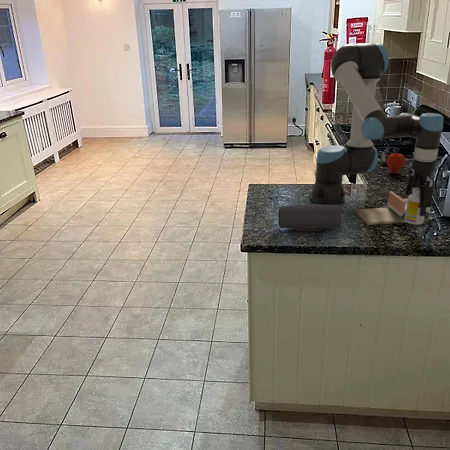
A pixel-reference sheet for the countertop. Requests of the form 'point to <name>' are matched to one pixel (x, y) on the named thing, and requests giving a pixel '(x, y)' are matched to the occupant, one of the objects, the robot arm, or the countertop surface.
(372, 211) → the cutting board
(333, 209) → the bluetooth speaker
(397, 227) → the countertop surface
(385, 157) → the door handle
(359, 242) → the countertop surface
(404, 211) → the cart
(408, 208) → the supplement bottle
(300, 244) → the countertop surface
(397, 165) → the apple
